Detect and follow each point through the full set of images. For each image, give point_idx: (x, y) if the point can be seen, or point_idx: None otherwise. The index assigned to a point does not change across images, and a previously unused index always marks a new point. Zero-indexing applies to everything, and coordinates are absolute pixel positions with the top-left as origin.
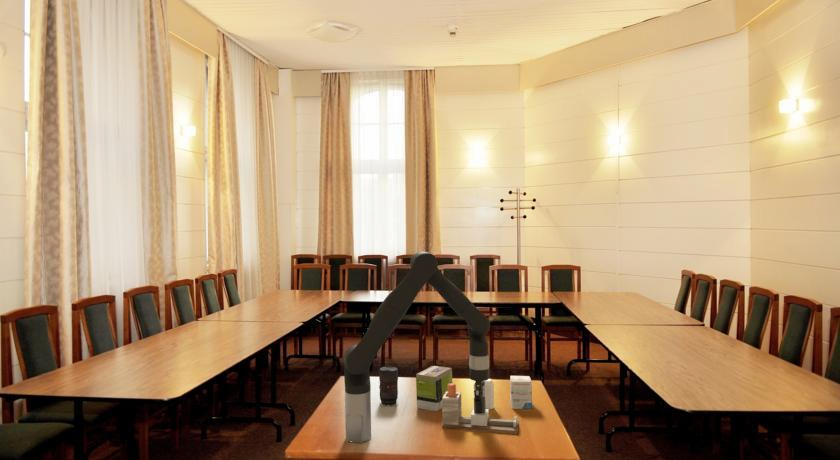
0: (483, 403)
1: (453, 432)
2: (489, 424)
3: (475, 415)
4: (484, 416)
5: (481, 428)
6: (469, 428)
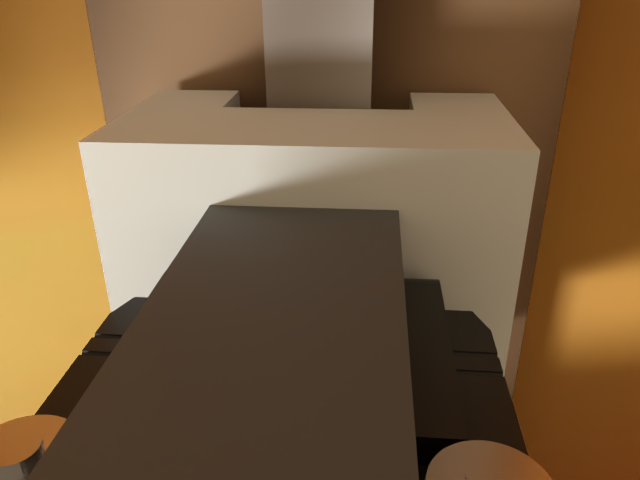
0: (406, 395)
1: (588, 470)
2: (374, 54)
3: (503, 374)
4: (530, 196)
5: (546, 172)
6: (518, 331)
